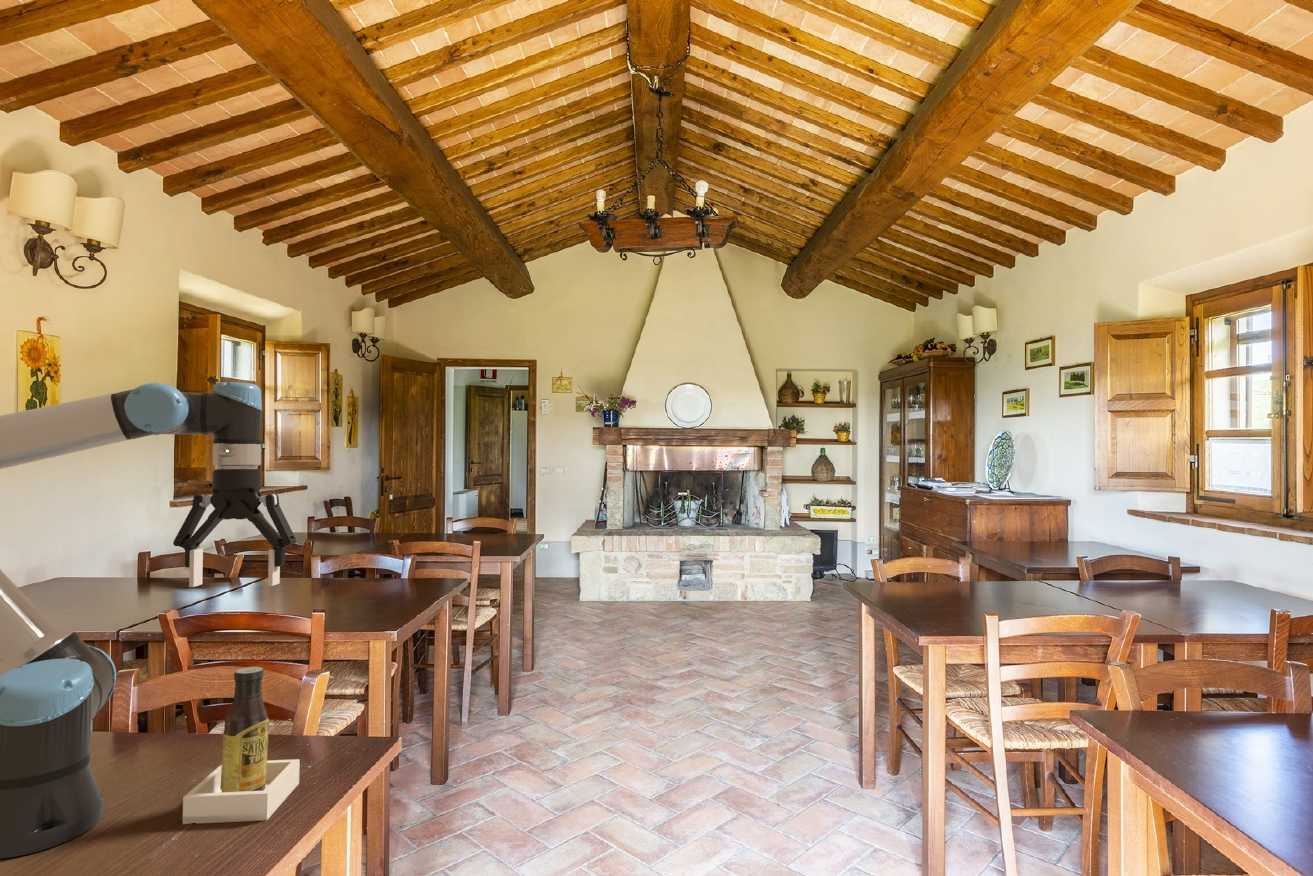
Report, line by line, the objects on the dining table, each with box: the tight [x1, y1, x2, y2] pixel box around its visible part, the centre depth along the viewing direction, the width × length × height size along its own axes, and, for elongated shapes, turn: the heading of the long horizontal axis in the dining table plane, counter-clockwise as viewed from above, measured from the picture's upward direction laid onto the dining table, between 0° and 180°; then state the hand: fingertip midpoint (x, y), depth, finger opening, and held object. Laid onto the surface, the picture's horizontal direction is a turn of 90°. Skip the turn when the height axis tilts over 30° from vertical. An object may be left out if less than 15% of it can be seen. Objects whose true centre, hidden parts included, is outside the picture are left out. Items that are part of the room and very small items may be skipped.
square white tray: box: [182, 758, 301, 825], centre depth 110 cm, size 12×12×4 cm
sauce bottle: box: [220, 666, 270, 792], centre depth 111 cm, size 7×6×20 cm
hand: (235, 585), depth 125 cm, fingers open, 13 cm apart
